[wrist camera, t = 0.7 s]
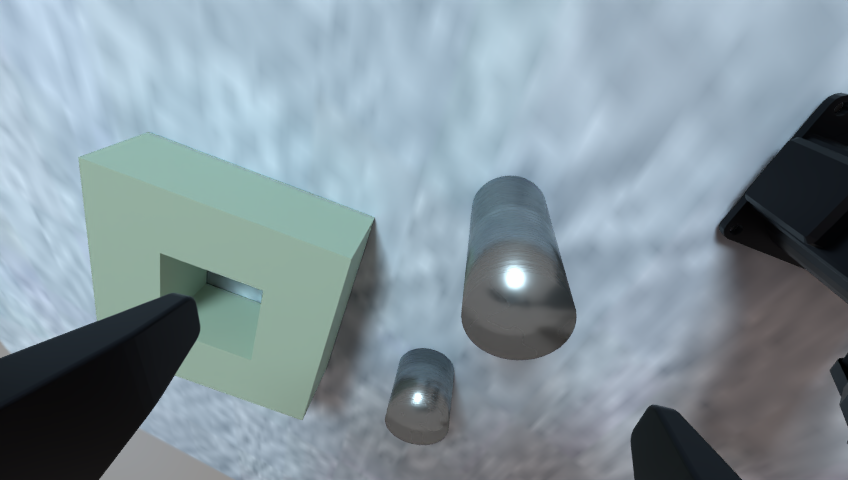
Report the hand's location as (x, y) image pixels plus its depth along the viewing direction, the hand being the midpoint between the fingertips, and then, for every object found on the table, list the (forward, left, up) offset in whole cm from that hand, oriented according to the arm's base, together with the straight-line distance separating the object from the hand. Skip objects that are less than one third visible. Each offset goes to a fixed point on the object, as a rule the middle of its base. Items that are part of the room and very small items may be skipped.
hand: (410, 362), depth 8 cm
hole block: (+9, +10, -13) cm, 19 cm away
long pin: (-3, +1, -13) cm, 13 cm away
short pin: (-3, +13, -13) cm, 19 cm away
